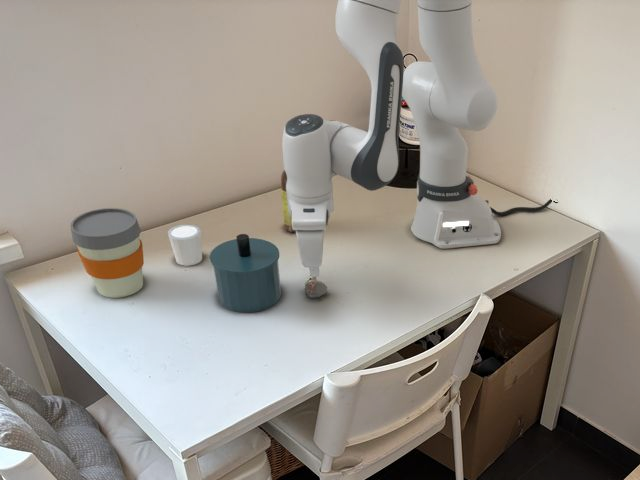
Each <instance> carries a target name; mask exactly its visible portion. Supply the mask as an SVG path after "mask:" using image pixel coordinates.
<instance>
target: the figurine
mask: <svg viewBox="0 0 640 480" xmlns="http://www.w3.org/2000/svg"><path fill="white" fill-rule="evenodd" d="M304 282H305V283H304V285H303V287H304V288H303V290H304V293H305V294H306V295H307V296H308V297H309V298H310V299H313V298H320V297H322V296H323V295H324V294H327V292H328V286H327V285H326V283H324V281H323V282H322V281H320V280H318V278H317V277H312V276H311V277H308V279H306V280H305V281H304Z"/></svg>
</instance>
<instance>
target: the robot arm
mask: <svg viewBox="0 0 640 480" xmlns="http://www.w3.org/2000/svg"><path fill="white" fill-rule="evenodd" d="M416 2H417V22H418V36H419V38H418V39H419V43H420V46H421V47H422V49H423V52H424V53H425V54H426V55H427V56H428V58H429V60H430V61H421V60H420V61H414V62H411V63H410V64H409V65H408V66H407V67H406V68H405V67H404V66H405V63H404V62H405V61H404V55H403V52H402V50H401V49H400V47H399V43H398V33H397V31H398V30H397V29H398V28H397V27H398V17H399V14H400V9H401V8H400V7H401V3H402V0H337V5H336V10H335V18H334V19H335V20H334V23H335V24H334V26H335V33H336V36H337V38H338V41H339V42H340V44H341V45H342V47H343V48H344V50H345V51H346V52H347V53H348V54H349V55H350V56H351V57H352V58H353V59H354V60H355V61H357V62H358V64H359V65H360V66H361V67H362V68H363V69H364V71H365V73H366V74H367V76H368V79H369V82H370V87H371V95H370V96H371V97H370V108H369V121H368V130H367V131H366V130H363V129H361V128H357V127H356V126H354V125H351V124H348V123H346V122H342V121H339V120H331V119H330V120H326V119H324V118H323V117H322V116H320V115H318V114H316V113H315V114H313V113H305V114H299V115H296V116H294V117H292V118H290V119H289V120H288V121H286V123H285V124H284V127H283V132H282V138H281V140H282V141H281V151H282V160H283V161H282V164H283V169H284V170H285V172H286V174H287V183H286V192H287V201H288V210H289V213H290V215H291V222H292V229H293V230H296V233H295V235H296V241H297V247H298V252H299V257H300V261H301V264H302V266H303V267H304V268H308V269H309V277H311V278H312V277H316V278H317V277H319V276H320V267H322V264H323V254H324V237H325V231H326V230H327V228H328V224H329V219H330V218H331V215H332V214H333V212H334V210H335V202H334V186H333V183H332V179H333V177H335V176H340V177H342V178H344V179H347V180H350V181H351V182H353V183H355V184H357V185H359V186H360V187H361V188H364V189H365V190H367V191H370V192H373V191H377V190H380V189H382V188H384V187H386V186H387V185H389V184H391V182H393V180H394V179H395V178H396V176H397V174H398V172H399V168H400V148H399V134H400V121H401V111H402V100H404V101H405V103H406V105H407V107H408V108H409V110H410V113H411V115H412V118H413V121H414V124H415V127H416V132H417V136H418V141H419V173H418V175H417V181H416V198H417V202H416V209H415V213H414V218H413V221H412V223H411V226H410V231H411V233H412V234H413V235H414V236H415V237H416V238H417V239H420V240H421V241H424V242H426V243H430V244H432V245H434V246H435V247H437V248H438V249H442V250H443V249H444V250H445V249H454V248H455V249H456V248H466V247H473V246H474V247H476V246H486V245H494V244H495V245H496V244H498V243H499V242H500V240H501V239H502V229H501V225H500V224H499V222H498V221H497V219H495V218H494V215H495V216H499V217H504V216H508V215H510V214H511V213H514V212H539V211H542V210H544V209H546V208H547V207H548V206H550V205H551V204H552V203H554V204H559V201H558V202H555V201H553V202H552V200H551V198H550V199H549V200H547V201H546V202H545V203H544V204H543V205H541V206H536V207H530V206H529V207H528V206H526V207H525V206H516V207H512V208H509V209H506V210H505V211H497V210H495V208H493V207H491V206H490V204H489V200H488V199H487V200H486V199H484V198H482V197H481V196H480V195H479V194H478V191H479V190H478V187H477V185H476V184H475V182H474V180H473V179H472V177H471V176H470V174H468V175H467V170H468V169H467V167H468V156H469V148H468V143H467V142H466V140H465V138H464V137H463V135H462V133H461V132H460V129H461V130H466V131H473V132H480V131H482V130H485V129H486V128H488V126H490V124H491V123H492V122H493V121H494V119H495V118H496V115H497V112H498V106H499V105H498V103H499V101H498V95H497V93H496V91H495V89H494V88H493V87H492V86H491V84H490V83H489V81H488V80H487V78H486V76H485V74H484V72H483V70H482V67H481V64H480V62H479V59H478V56H477V53H476V52H477V51H476V48H475V44H474V36H473V35H474V34H473V14H472V13H473V11H472V9H473V8H472V0H416ZM404 68H405V69H404ZM284 170H283V171H284Z"/></svg>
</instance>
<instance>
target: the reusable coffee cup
mask: <svg viewBox="0 0 640 480" xmlns="http://www.w3.org/2000/svg"><path fill="white" fill-rule="evenodd" d="M69 226H70V232H71V238H72V239H71V240H72V242H73V243H74V244H75V245H76V247H77V254H78V257H79V258H80V261H81V262H82V265H83V267H84V269H85V271H86V273H87V274H88V275H89V276H90V277H91V279H92V281H93V283H94V286H95V288H96V290H97V292H98V294H99V295H101V296H103V297H105V298H112V299H114V298H115V299H116V298H117V299H119V298H125V297H129V296H132V295H134V294H136V293H137V292H139V291H140V290H141V289H142V288H143V286H144V276H143V266H144V263H145V261H144V247H143V242H142V240H141V238H140V234H141V227H140V224H139V221H138V218H137V216H136V214H135V213H134V212H132V211H130V210H128V209H124V208H119V207H118V208H117V207H104V208H97V209H93V210H89V211H86V212H84V213H81V214H79V215H78V216H76V217H75V218H73V220H72V221H70V225H69Z"/></svg>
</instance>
